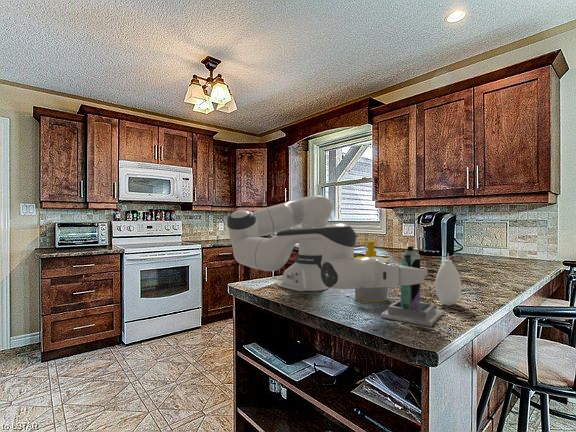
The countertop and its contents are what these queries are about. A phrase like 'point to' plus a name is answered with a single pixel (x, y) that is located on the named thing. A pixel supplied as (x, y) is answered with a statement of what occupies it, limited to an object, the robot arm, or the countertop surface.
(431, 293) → the countertop surface
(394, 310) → the socket block
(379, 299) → the soap bottle
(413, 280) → the robot arm
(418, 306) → the spray can
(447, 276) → the white bulb air blower
